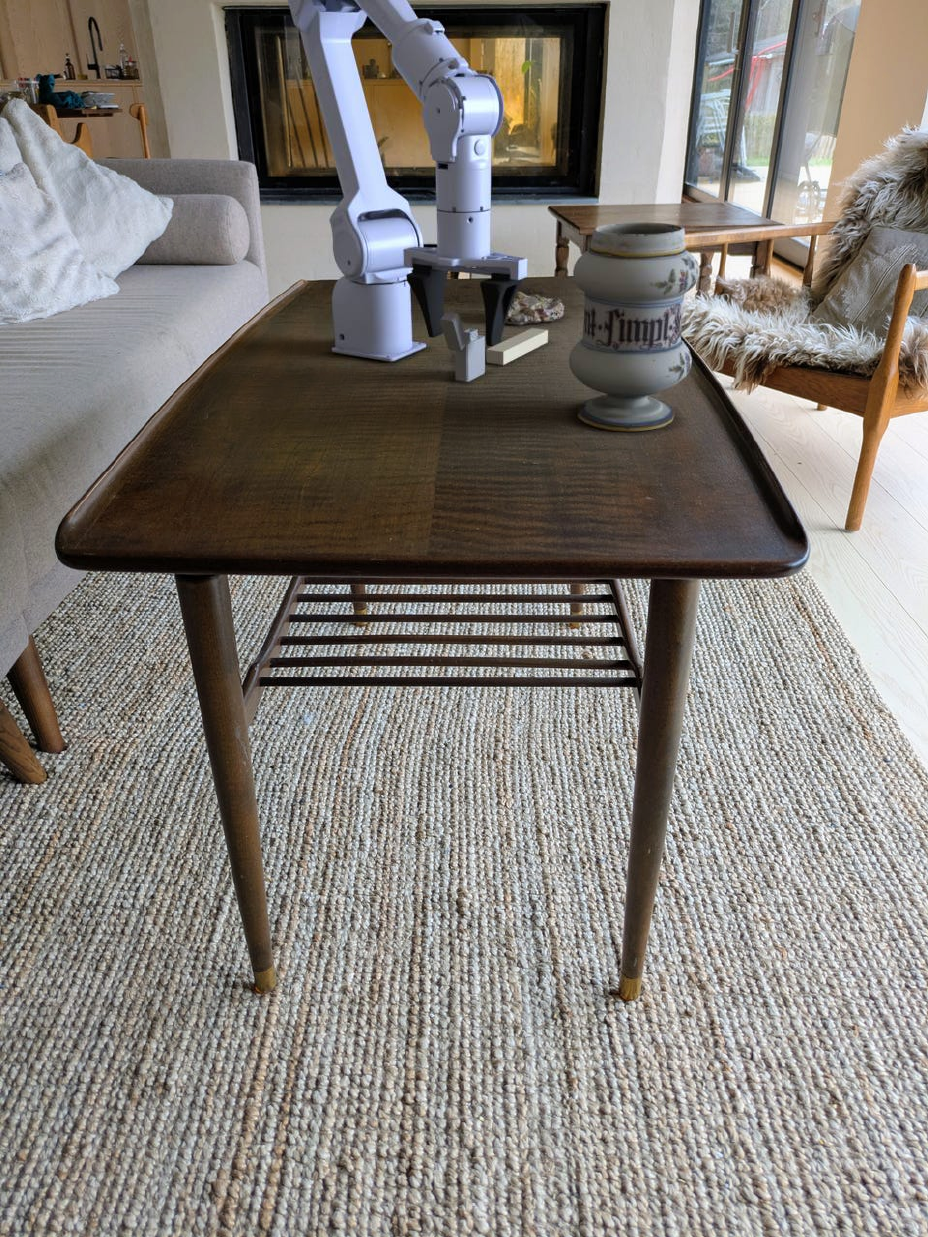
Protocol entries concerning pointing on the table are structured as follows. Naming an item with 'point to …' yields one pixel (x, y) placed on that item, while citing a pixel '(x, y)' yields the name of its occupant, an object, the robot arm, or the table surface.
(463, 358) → the lighter
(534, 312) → the mineral rock
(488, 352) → the strip
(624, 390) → the apothecary jar
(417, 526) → the table surface
